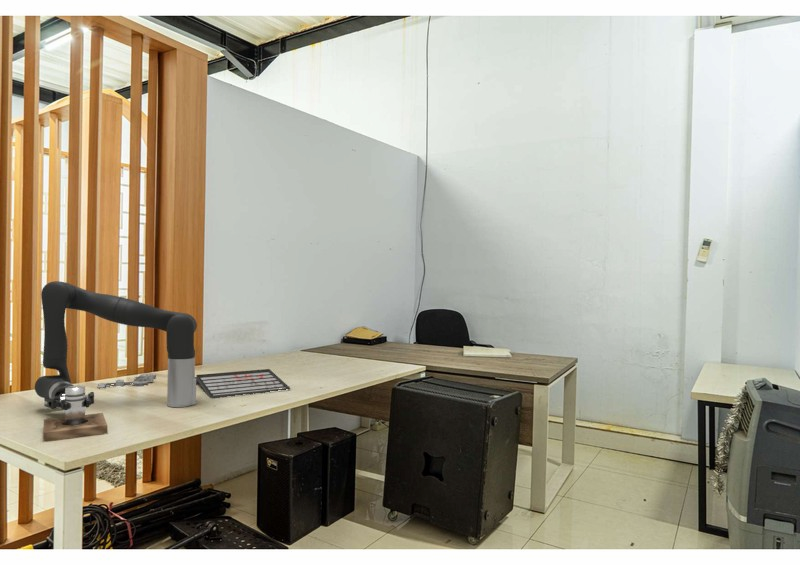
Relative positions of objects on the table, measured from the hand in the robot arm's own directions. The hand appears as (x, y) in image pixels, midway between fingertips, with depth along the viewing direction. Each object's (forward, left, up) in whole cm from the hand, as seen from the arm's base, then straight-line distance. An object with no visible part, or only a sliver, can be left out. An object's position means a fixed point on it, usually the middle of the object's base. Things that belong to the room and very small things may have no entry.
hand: (77, 405), depth 163 cm
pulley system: (-23, -67, -9) cm, 71 cm away
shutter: (-62, -40, -9) cm, 74 cm away
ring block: (0, -3, -8) cm, 9 cm away
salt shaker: (0, -3, -7) cm, 7 cm away
